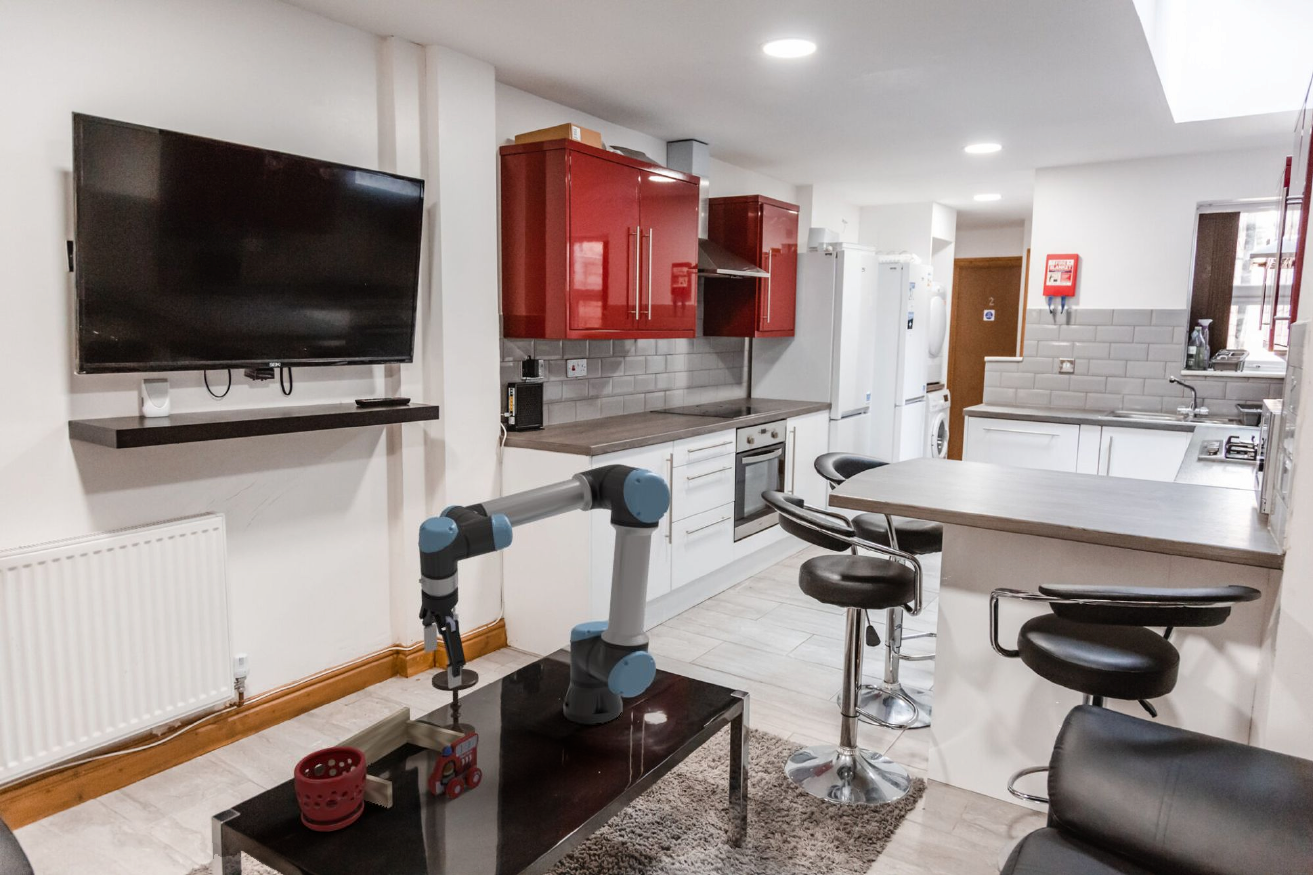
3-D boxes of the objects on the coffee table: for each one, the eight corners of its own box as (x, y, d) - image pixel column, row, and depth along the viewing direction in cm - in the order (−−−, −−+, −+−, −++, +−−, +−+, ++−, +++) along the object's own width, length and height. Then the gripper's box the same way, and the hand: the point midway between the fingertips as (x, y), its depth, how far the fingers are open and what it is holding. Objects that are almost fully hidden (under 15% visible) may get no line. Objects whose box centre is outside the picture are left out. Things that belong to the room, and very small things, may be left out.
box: (464, 754, 187) (464, 721, 186) (388, 808, 165) (387, 770, 165) (406, 738, 195) (405, 706, 194) (325, 787, 173) (324, 751, 172)
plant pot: (296, 809, 165) (294, 752, 163) (365, 795, 170) (363, 740, 169) (295, 845, 153) (293, 784, 151) (370, 829, 158) (368, 770, 157)
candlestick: (469, 721, 204) (467, 584, 201) (486, 738, 195) (484, 595, 192) (426, 731, 198) (423, 591, 194) (441, 750, 189) (439, 603, 186)
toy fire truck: (420, 796, 170) (419, 748, 169) (465, 771, 180) (464, 725, 179) (443, 806, 166) (443, 758, 165) (487, 780, 177) (487, 734, 176)
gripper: (401, 562, 179) (405, 641, 188) (445, 624, 161) (448, 708, 170) (434, 554, 183) (437, 631, 192) (481, 613, 165) (482, 695, 174)
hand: (442, 667), depth 181 cm, fingers open, 13 cm apart
